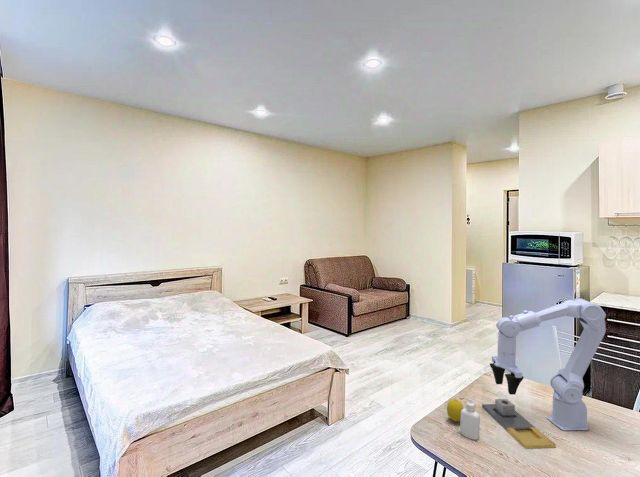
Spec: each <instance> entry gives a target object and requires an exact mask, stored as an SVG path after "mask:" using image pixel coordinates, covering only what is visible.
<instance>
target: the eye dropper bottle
mask: <svg viewBox="0 0 640 477" xmlns="http://www.w3.org/2000/svg"><path fill="white" fill-rule="evenodd" d="M465 406H466V408H464V409H462V410H461V420H460V421H459V422H460V424H459V425H460V426H459V429H460V430H459V433H460V434H461V435H462V436H464V437H465V438H467V439H470V440H474V441H477V440H479V438H480V428H481V427H480V425H481V424H480V423H481V421H480V420H481V418H480V417H481V416H480V414H479V413H478V412H477V411H475V410H476V409H475V407H476V406H475V403H474V402H473V399H471V398H469V400H468V401H467V402H466V404H465Z"/></svg>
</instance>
